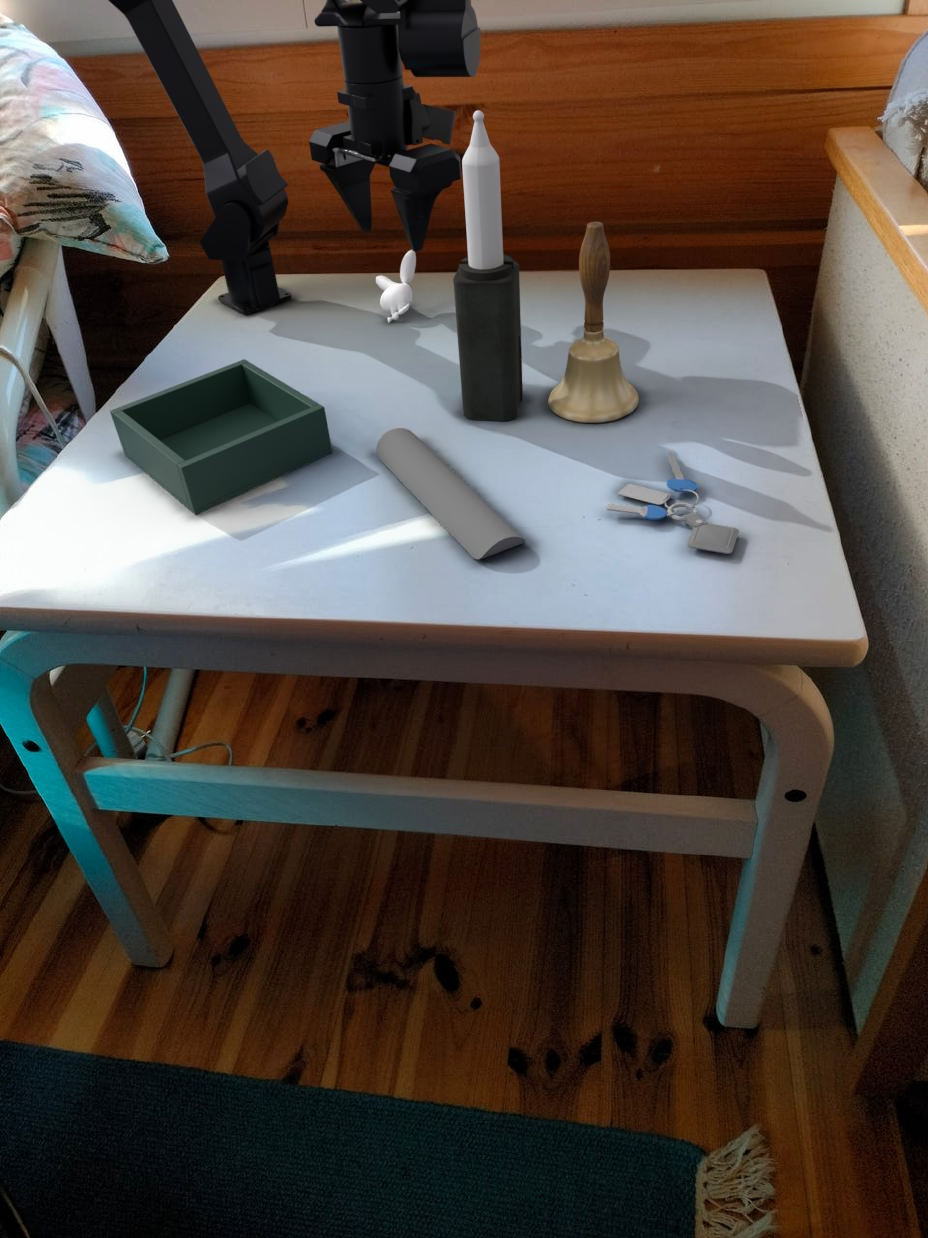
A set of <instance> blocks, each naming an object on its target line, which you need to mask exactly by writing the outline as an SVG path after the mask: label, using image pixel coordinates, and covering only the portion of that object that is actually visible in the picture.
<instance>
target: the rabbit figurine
mask: <svg viewBox="0 0 928 1238" xmlns="http://www.w3.org/2000/svg"><path fill="white" fill-rule="evenodd" d="M416 266H417V256H416V252H414V251H412V249H410V250H408V251H407V252H406V253H405V255H404V256H403V258H402V260H401V263H400V267H399V277H400V281H401V282H400V283H399V282H398V283H397V282H394V281H392V280H391V279H390V278H388V277H387V276H385V275H377V276H376V277H375V284H376V285H377V286H378V287H379V288H380V289H381V290H382V291H383V293H382V294H381V296H380V299H379V304H380V308H381V309H382V310H383V311H384V312H385V313H390V314H391V317H390V316H388V317H387V319H386V320H387V323H391V322H392V321H393V320H394V321H397V320H399V316H402V315H403V314H405V313H407V311H409V309H410V306H411V304H412V301H413V291H412V288H411V286H410V285H409V283H411V282H412V281H413V279H414V277H415V272H416Z"/></svg>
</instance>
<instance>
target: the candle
mask: <svg viewBox="0 0 928 1238" xmlns="http://www.w3.org/2000/svg"><path fill="white" fill-rule="evenodd" d="M484 118H485V114H484V113H483V111H482V110H475V111H474V112H473V115H472V119H473V121H474V123H473V127H472V132H471V136H470V142H469V144H468V147H467V149H466V151H465V152H464V155H463V157H462V160H461V165H462V167H461V169H462V181H463V182H462V184H463V194H464V195H463V199H464V212H465V213H464V214H465V229H466V246H467V256H466V257H464V258H463V259H461V260H460V263H458V269H457V271H456V273H455V274H454V276H453V279H452V280H453V292H454V293H453V294H454V295H453V296H454V306H455V309H454V310H455V318H456V319H455V322H456V333H457V335H456V336H457V347H458V348H457V349H458V360H459V361H458V362H459V373H460V375H459V376H460V390H461V402H462V415H463V417H465V418H466V419H467V420H472V421H490V422H491V421H492V422H493V421H495V422H497V421H498V422H508V421H512V420H515V419H516V418H517V417H518V416H519V408H520V404H521V403H522V402H523V401H524V391H523V390H524V389H523V356H522V323H521V293H520V292H521V290H520V289H521V287H520V286H521V285H520V264H519V262H517V261H515V260H514V259H513V258H512V257H511V256H510V255H507V254H505V253H504V245H503V244H504V243H503V241H504V240H503V219H502V218H503V217H502V216H503V215H502V194H501V193H502V192H501V166H500V156H499V154H498V153H497V151H496V149H494V147H493V146H492V144H491V141H490V139H489V136H488V132H487V129H486V126H485V124H484Z"/></svg>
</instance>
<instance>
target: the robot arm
mask: <svg viewBox="0 0 928 1238" xmlns="http://www.w3.org/2000/svg"><path fill="white" fill-rule="evenodd" d="M107 1H108V2H109V3H110V4H111V5H112V6H113V7H115V8H116V9H117V10H118V11H119V12H120V13H121V14H122V15H123V16H124V17H125V19H126V20H127V21H128V24H129V25H130V27H131V29H132V31H133V33H134V35H135V37H136V38H137V41H138V43H139V44H140V46H141V49H142V50H143V51H144V54H145V55H146V57H147V59H148V61H149V64H150V65H151V67H152V69H153V71H154V73H155V75H156V77H157V78H158V80H159V82H160V84H161V86H162V88H163V90H164V91H165V94H166V95H167V97H168V99H169V101H170V103H171V105H172V106H173V108H174V110H175V113H176V114H177V116H178V118H179V120H180V122H181V124H182V125H183V127H184V129H185V131H186V133H187V135H188V137H189V138H190V141H191V142H192V144H193V146H194V149H195V150H196V152H197V154H198V156H199V157H200V159H201V162H202V167H203V176H204V177H203V178H204V185H205V195H206V198H207V200H208V203H209V205H210V208H211V210H212V211H211V212H212V213H213V217H214V219H213V220H212V222H211V224H210V225H209V226H208V227H207V229H206V231H205V232H204V234H203V235H202V237H201V238H200V240H199V244H200V246H201V248H202V249H203V251H204V253H205V255H206V257H207V259H209V260H210V261H211V260H213V261H221V266H222V270H223V275H224V279H225V285H226V288H227V292H225V293H223V294H219V295H218V296H217V300H218V301H219V302H220V303H222V304H224V305H226V306H227V307H229V308H232V309H233V310H235V311H237V312H239V313H240V314H243V315H249V314H252V313H254V312H257V311H260V310H263V309H266V308H268V307H270V306H273V305H276V304H279V303H283V302H285V301H288V300H290V299H292V298H293V297H292V296H293V295H292V292H289V291H287V290H285V289H283V288H282V287H279V285H278V281H277V274H276V269H275V265H274V261H273V260H274V259H273V255H272V251H271V245H270V242H269V241H270V240H271V239H272V238H273V237H276V236H277V235H278V233H279V228H280V222H281V221H282V220H283V219H284V218H285V216H286V214H287V208H288V205H289V197H288V194H287V191H286V189H285V188H286V187H288V186H289V183H288V182H287V180H285V179H284V177H282V174H281V173H280V172H279V170H278V167H277V164H276V161H275V158H274V156H273V154H272V152H271V150H269V149H264V150H263V151H261V152H260V153H258V152H256V151H255V150H254V149H253V148H252V147H251V146H250V145H248V143H246V142H245V141H244V140H243V137H242V136H241V134H240V132H239V130H238V127H237V126H236V124H235V122H234V120H233V118H232V116H231V114H230V112H229V110H228V108H227V106H226V104H225V101H224V100H223V98H222V96H221V94H220V92H219V90H218V87H217V86H216V84H215V82H214V80H213V78H212V76H211V74H210V72H209V70H208V69H207V66H206V64H205V63H204V61H203V58H202V56H201V55H200V52H199V51H198V49H197V46H196V44H195V43H194V41H193V39H192V37H191V35H190V32H189V31H188V29H187V27H186V25H185V23H184V21H183V18H182V17H181V14H180V13H179V11H178V8H177V7H176V5H175V2H174V1H173V0H107ZM313 21H314V25H315V26H316V27H319V28H320V27H337V35H338V36H337V37H338V42H339V51H340V58H341V65H342V73H343V82H344V89H343V90H337V91H336V96H337V103H338V104H339V105H344V106H347V112H348V121H345V122H341V123H337V124H332V125H330V126H329V125H328V126H325V127H321V128H317V129H314V130H313V132H312V134H311V137H310V139H309V141H308V145H309V152H310V157H311V161H314V162H316V163H319V165H318V166H319V170H320V171H322V172H323V173H324V174H325V176H326V177H327V178H328V180H329V182H330V183H331V184H332V186H333V187H334V189H335V190H336V192H337V194H338V195H339V197H340V198H341V200H342V201H343V203H344V205H345V207H346V208H347V209H348V211H349V213H350V215H351V217H352V218H353V219H354V221H355V223H356V224H357V226H358V227H359V229H360V231H361V232H362V233H367V232H370V231H371V230H372V225H373V223H372V222H373V220H372V219H373V217H372V216H373V212H372V191H371V175H372V172H373V170H374V168H375V165H376V164H377V165H380V166H384V167H386V168H388V171H389V178H390V180H391V181H392V183H393V185H394V187H393V188H390V193H391V195H392V199H393V201H394V205H395V207H396V210H397V213H398V217H399V218H400V221H401V223H402V227H403V230H404V233H405V236H406V239H407V242H408V244H409V246H410V248H411V250H412V251H414V252H415V253H418V252H420V251H422V250H423V248H424V246H425V245H424V244H425V240H426V237H427V233H428V228H429V225H430V220H431V217H432V216H431V215H432V212H433V208H434V205H435V203H436V200H437V198H438V197H439V195H440V194H441V193H442V192H443V190H446V189H448V188H450V187H452V185H453V183H454V182H457V181H459V180H462V167H461V165H462V163H461V156H460V155H459V154H458V153H457V152H456V151H455V150H454V149H453V148H450V147H446V146H443V145H439V144H435V143H426V144H424V139H427V140H431V141H434V140H436V141H441V143H442V144H445V145H449V146H450V145H451V142H452V137H453V136H452V135H453V130H454V126H455V125H454V124H455V119H456V114H457V112H456V110H451V109H446V108H442V107H439V106H433V105H430V104H425V103H422V98H421V94H420V92H418V91H416V90H415V89H414V86H412V85H409V84H405V83H404V74H403V72H404V71H403V67H404V70H405V71H410V72H411V74H412V75H413V77H415V78H474V77H475V76H476V74H477V72H478V70H479V66H480V60H481V51H482V50H481V49H482V48H481V46H482V38H481V37H482V34H481V28H480V27H479V26H478V19H477V15H476V10H475V8H474V7H473V6H472V0H359V1H358V2H357V1H356V2H353V1H352V2H349V1H347V0H326V2H325V4H324V6H323V7H322V9H321V11H320V12H319V13H318V14H317V16H316V17H314V20H313ZM421 144H424V145H421ZM418 145H420V146H418ZM408 146H417V147H413V148H410V149H408Z"/></svg>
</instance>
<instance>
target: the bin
mask: <svg viewBox="0 0 928 1238" xmlns="http://www.w3.org/2000/svg"><path fill="white" fill-rule="evenodd" d="M109 412H110V416H111V419H112V421H113V425H114V427H115V431H116V434H117V436H118V440H119V442H120V446H121V448H122V451H123V453H124V456H125V457H127V458H128V459H129V460H130V461H131V462H132V463H134V465H136V466H137V467H138V468H139V469H141V470H142V471H143V472H144V474H146V475H148V476H149V477H150V478H151V479H152V480H153V481H155V482H156V483H157V484H158V485H159V486H160V487H162V488H163V489H164V490H166V492H168V493H169V494H170V495H171V496H173V497H174V498H175V499H176V500H177V501H178V502H180V504H182V505H183V506H184V507H185V508H187V509H188V510H189V511H190V512H191V513H193V514H194V515H195V516H196V515H198V514H199V515H200V514H201V513H203V512H205V511H207V510H210V509H212V508H214V507H216V506H218V505H221V504H223V503H226V502H227V501H230V500H232V499H234V498H236V497H238V496H241V495H243V494H245V493H247V492H250V491H251V490H253V489H255V488H258V487H260V486H262V485H264V484H267V483H269V482H270V481H274V480H275V479H278V478H280V477H282V476H284V475H287V474H289V473H291V472H292V471H293V472H294V471H295V470H298V469H300V468H302V467H304V466H306V465H308V464H310V463H313V462H315V461H317V460H319V459H321V458H324V457H326V456H328V455H330V454H332V453H333V447H332V441H331V436H330V431H329V424H328V420H327V415H326V409H325V406H324V405H322V404H321V403H319V402H317V401H315V400H313V399H312V398H310V397H308V396H306V395H305V394H303V393H302V392H300V391H298V390H297V389H296V388H294V387H291V386H290V385H289V384H287V383H286V382H283V381H282V380H280V379H278V378H277V377H275V376H273V375H272V374H270V373H268V372H267V371H265V370H263V369H262V368H260V367H258V366H257V365H255V364H253V363H251V362H250V361H249V360H247V359H245V358H243V359H241V360H238V361H236V362H234V363H231V364H228V365H226V366H222V367H220V368H217V369H215V370H212V371H210V372H207V373H204V374H201V375H199V376H197V377H194V378H191V379H189V380H185V381H184V382H181V383H179V384H176V385H173V386H171V387H168V388H165V389H163V390H160V391H158V392H155V393H152V394H150V395H147V396H145V397H141V398H139V399H136V400H134V401H131V402H129V403H126V404H124V405H121V406H119V407H115V408H113V409H110V410H109Z"/></svg>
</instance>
